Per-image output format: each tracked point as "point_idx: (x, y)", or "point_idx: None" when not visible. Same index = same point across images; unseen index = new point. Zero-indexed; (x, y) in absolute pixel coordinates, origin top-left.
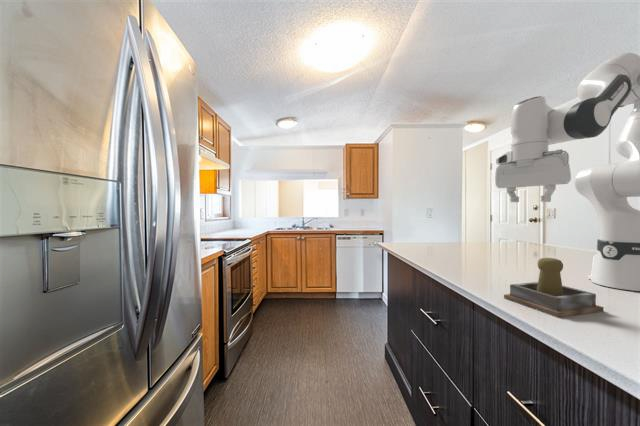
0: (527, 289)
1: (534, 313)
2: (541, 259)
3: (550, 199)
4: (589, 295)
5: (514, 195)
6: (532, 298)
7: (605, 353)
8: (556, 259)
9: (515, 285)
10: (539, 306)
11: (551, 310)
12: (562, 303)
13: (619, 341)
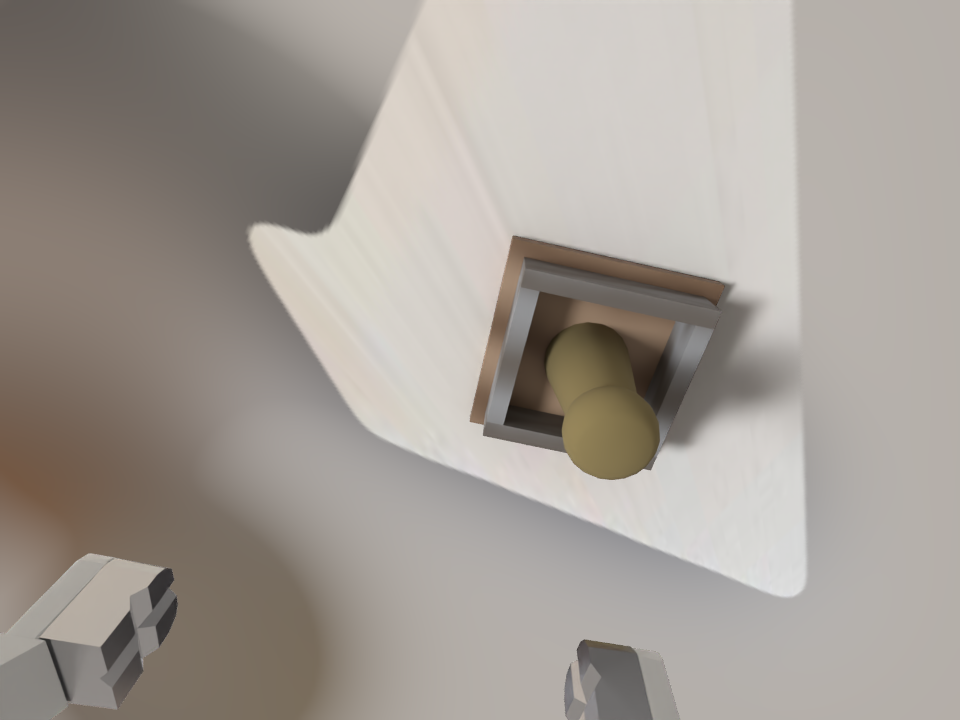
0: (550, 448)
1: None
2: (588, 471)
3: (663, 681)
4: (707, 341)
5: (28, 686)
6: None
7: (765, 561)
8: (641, 448)
9: (500, 432)
10: None
11: None
12: None
13: (779, 489)
